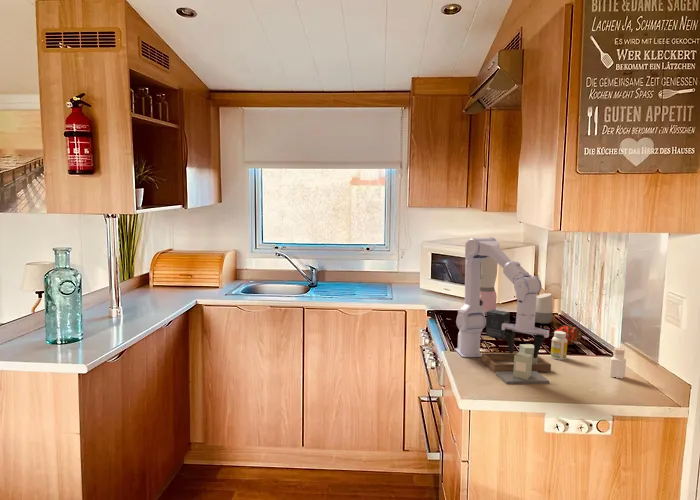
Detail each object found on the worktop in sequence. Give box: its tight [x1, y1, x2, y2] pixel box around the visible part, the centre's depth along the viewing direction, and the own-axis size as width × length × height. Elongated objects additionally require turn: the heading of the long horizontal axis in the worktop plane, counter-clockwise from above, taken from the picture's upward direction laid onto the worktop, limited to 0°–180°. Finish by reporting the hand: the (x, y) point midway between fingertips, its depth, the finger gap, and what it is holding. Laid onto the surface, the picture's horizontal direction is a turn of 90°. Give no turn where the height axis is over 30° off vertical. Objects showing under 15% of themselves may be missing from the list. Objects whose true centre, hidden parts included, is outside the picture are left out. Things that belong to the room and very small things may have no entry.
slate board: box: [495, 371, 550, 385], centre depth 168 cm, size 9×14×1 cm, turn 96°
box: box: [485, 309, 511, 340], centre depth 218 cm, size 8×6×11 cm
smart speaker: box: [535, 292, 553, 325], centre depth 242 cm, size 10×9×14 cm
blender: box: [480, 256, 499, 316], centre depth 255 cm, size 16×12×32 cm
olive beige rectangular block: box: [513, 351, 532, 380], centre depth 168 cm, size 4×5×7 cm
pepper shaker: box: [609, 347, 627, 380], centre depth 171 cm, size 4×4×10 cm
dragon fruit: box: [550, 324, 583, 346], centre depth 209 cm, size 8×8×12 cm
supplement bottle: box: [550, 331, 568, 361], centre depth 190 cm, size 5×5×10 cm
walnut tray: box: [481, 352, 552, 373], centre depth 181 cm, size 13×20×2 cm, turn 96°
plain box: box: [518, 343, 537, 364], centre depth 181 cm, size 4×4×7 cm
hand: (523, 355), depth 167 cm, fingers open, 7 cm apart
